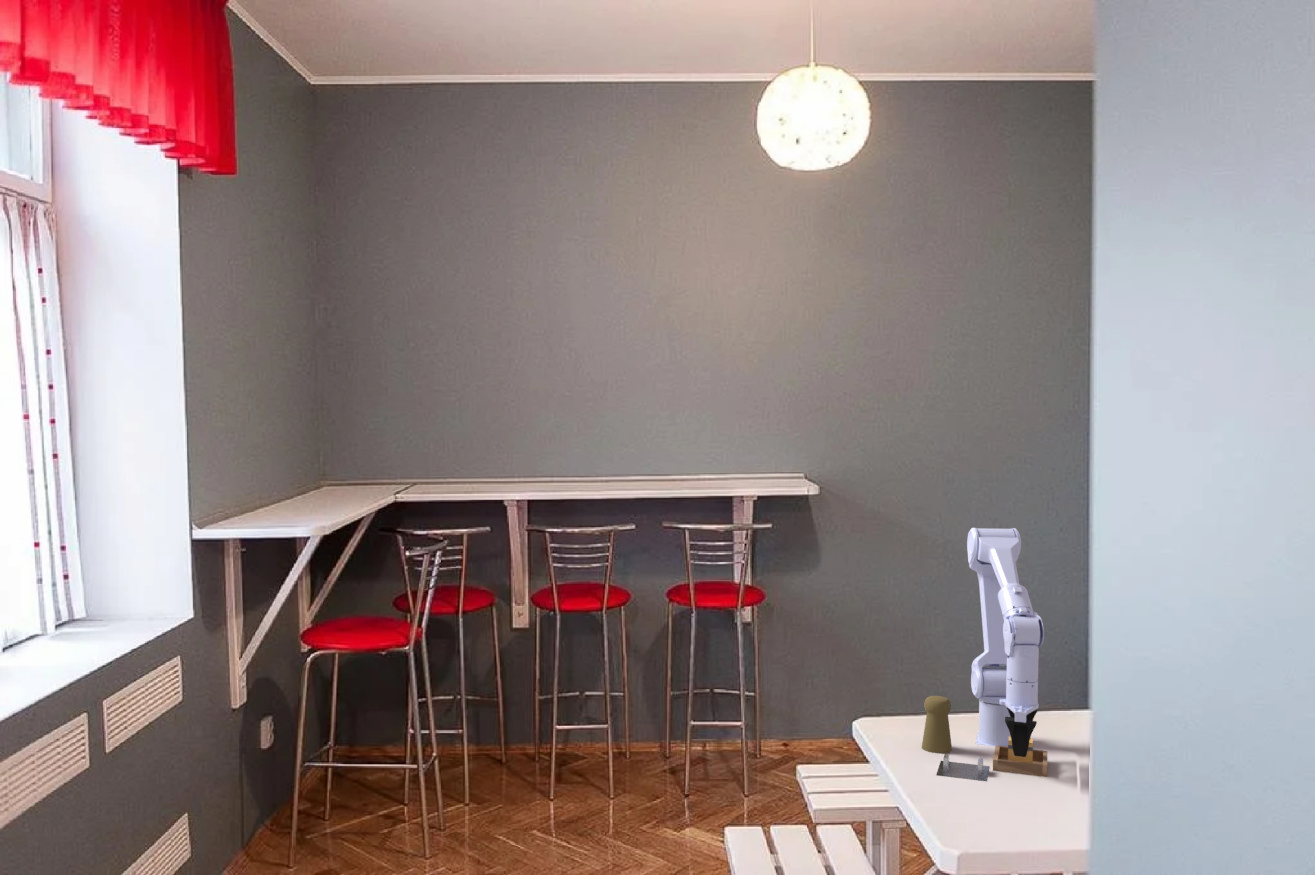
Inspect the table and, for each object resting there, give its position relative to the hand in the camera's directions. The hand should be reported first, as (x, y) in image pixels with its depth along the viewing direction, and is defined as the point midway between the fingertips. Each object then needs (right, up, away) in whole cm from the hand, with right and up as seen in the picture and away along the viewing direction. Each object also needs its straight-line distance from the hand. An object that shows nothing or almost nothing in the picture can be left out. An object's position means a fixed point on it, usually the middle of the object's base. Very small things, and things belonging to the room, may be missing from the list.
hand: (1020, 750), depth 210 cm
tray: (0, -4, 0) cm, 4 cm away
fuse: (0, -3, 0) cm, 3 cm away
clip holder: (-12, -4, -3) cm, 13 cm away
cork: (-13, -3, +10) cm, 17 cm away
